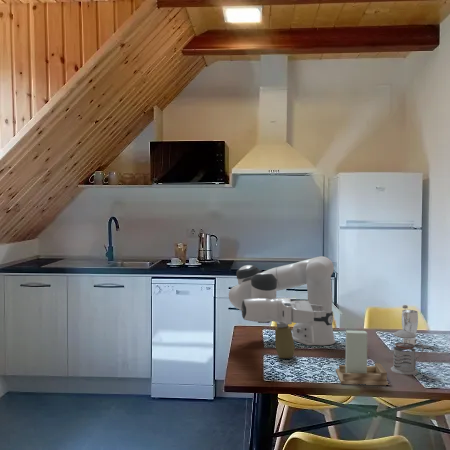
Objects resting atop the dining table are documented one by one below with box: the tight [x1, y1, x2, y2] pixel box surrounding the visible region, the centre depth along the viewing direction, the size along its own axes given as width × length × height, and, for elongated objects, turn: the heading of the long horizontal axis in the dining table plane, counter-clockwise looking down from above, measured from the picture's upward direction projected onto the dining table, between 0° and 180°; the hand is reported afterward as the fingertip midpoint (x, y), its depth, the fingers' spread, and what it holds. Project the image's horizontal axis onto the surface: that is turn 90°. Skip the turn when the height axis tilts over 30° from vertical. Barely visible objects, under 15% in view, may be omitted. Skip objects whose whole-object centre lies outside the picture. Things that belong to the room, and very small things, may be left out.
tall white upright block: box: [344, 330, 368, 373], centre depth 172 cm, size 7×4×16 cm, turn 84°
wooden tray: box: [335, 363, 389, 386], centre depth 173 cm, size 16×13×4 cm
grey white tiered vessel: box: [390, 304, 425, 376], centre depth 181 cm, size 10×12×25 cm
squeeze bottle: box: [274, 322, 296, 359], centre depth 197 cm, size 8×8×18 cm
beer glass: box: [401, 309, 419, 346], centre depth 217 cm, size 7×7×15 cm
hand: (324, 310), depth 173 cm, fingers open, 8 cm apart
